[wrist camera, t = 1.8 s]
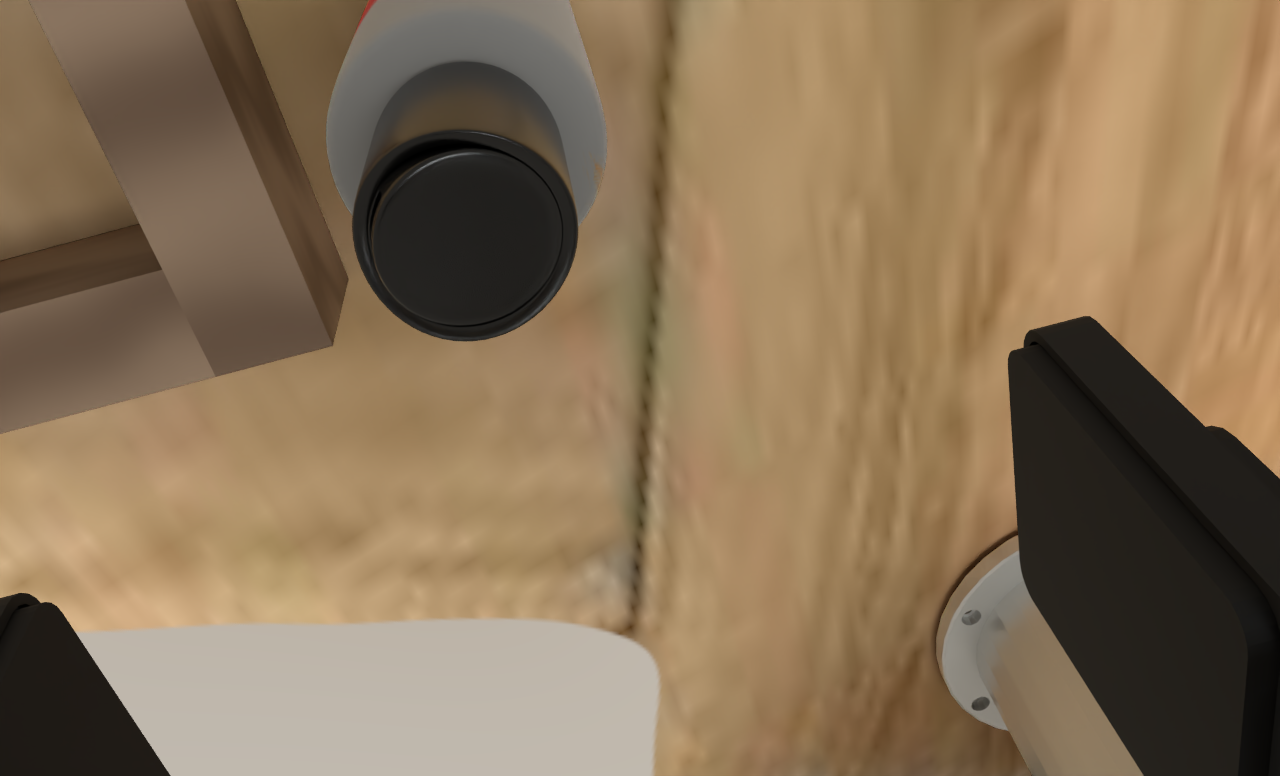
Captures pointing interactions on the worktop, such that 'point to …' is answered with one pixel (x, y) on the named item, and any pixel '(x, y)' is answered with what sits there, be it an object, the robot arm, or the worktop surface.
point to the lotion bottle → (466, 157)
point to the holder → (169, 220)
